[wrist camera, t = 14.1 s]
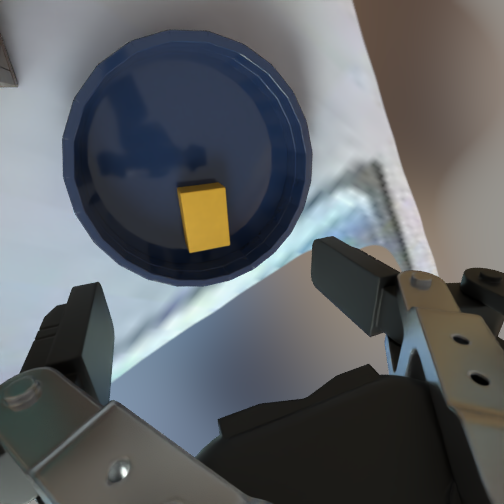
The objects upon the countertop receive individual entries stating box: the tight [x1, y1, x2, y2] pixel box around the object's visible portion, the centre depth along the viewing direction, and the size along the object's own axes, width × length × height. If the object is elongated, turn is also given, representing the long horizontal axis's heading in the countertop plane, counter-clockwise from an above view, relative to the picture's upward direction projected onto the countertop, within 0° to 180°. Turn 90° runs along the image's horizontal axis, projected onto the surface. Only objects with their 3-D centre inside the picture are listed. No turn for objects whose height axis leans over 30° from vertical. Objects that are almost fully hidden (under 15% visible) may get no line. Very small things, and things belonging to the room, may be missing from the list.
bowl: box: [62, 30, 312, 286], centre depth 22 cm, size 17×17×4 cm
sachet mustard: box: [177, 183, 230, 253], centre depth 24 cm, size 5×4×2 cm
